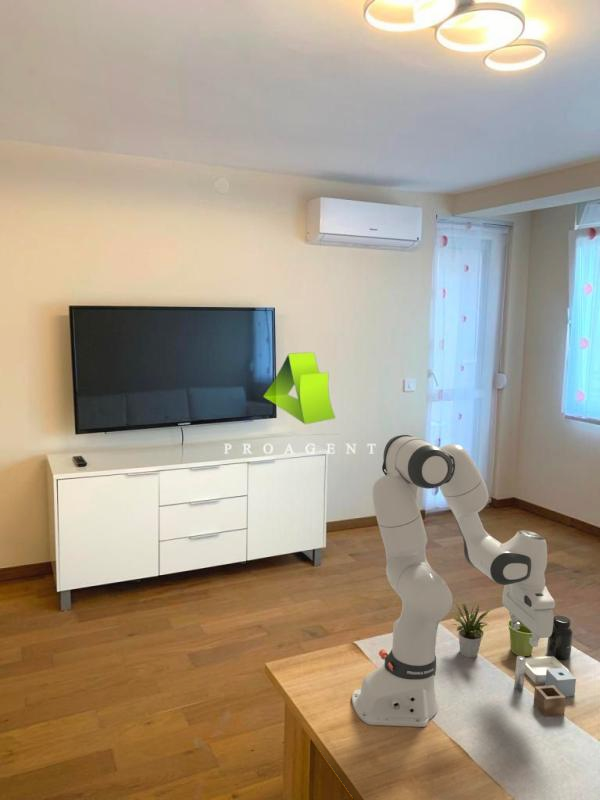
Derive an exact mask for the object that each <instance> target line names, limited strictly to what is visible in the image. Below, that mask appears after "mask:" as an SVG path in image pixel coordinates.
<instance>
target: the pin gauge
mask: <svg viewBox="0 0 600 800" xmlns="http://www.w3.org/2000/svg"><path fill="white" fill-rule="evenodd" d="M526 658H527V657H526V656H524V657H523V656H518V655H516V660H515V661H516V662H515V673H514V674H515V675H514V686H513V688H514V690H516V691H518V692H522V691H524V683H525V674H526V673H525V662H526Z"/></svg>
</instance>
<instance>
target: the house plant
mask: <svg viewBox="0 0 600 800" xmlns="http://www.w3.org/2000/svg"><path fill="white" fill-rule="evenodd" d="M460 603H461V605H462V607H463V611H464V613H465V617H466V618H465V617H464V614H463V612H462V610H461V609H460V607H459V605H458V604H457V603H456V602H455V601H453V604H454V605H455V607H456V608H457V610H458V611H457V610H455V611H450V612H449V613H453V614H455V613H456V616H454V617H453V620H455V621H456V622H459V624H461V625H458V626H457V624H455V623H453V625H455V626H457V627H456V632H457V633H458V643H459V653H460V652H461V653H460V654H461V655H462V654H463V655H462V656H464V655H465V656H464V657H466V656H468V657H467V658H476V657H478V654H479V650H480V645H481V642H482V639H483V636H484V635H485V633H484V631H483V630H482V629H483V628H484V627H487V626H488V625H489V623H487V622H484V621H483V622H482V621H481V620H482V619H488V616H487V615H488V613H490V612H492V611H493V610H494V608H491V609H488V610H485V611H484V612H483V613H482V614H481V615H480V616H478V614H479V611H480V604H479V603H478V605H477V606H476V609H475V611H474V612H473V610H474V607H475V605H476V604H477V602H475V603H474V604H473V606H472V609H471V612H470V614H469V611H468V608H467V605H466V604H465V602H464V601H463V600H461V601H460ZM477 616H478V618H477ZM485 616H486V617H485ZM462 619H463V620H462ZM476 619H477V620H476ZM475 656H476V657H475Z"/></svg>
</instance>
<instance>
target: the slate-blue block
mask: <svg viewBox="0 0 600 800" xmlns="http://www.w3.org/2000/svg"><path fill="white" fill-rule="evenodd" d="M576 684H577V678H576V677H575V676H574V675H572V673H571V674H570V673H569V672H568V671H567V670H566V669H565V668H555V669H547V670H546V681H545V683H544V686H550V685H554V686H555V687H556V688H557V689H558V690H559V691H560V692H561V693H562V694H563V695H564V696H565V697H575V692H576Z"/></svg>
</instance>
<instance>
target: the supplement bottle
mask: <svg viewBox="0 0 600 800" xmlns="http://www.w3.org/2000/svg"><path fill="white" fill-rule="evenodd" d="M553 616H554V618H553V630H552V635H551V636H550V637H548V638H547V643H546V645H547V646H546V654H547V656H554V657H555V658H556V659H557V660H558V661H559V662H567V661H569V660H570V659H571V654H572V647H573V646H572V645H573V636H574V634H573V629H572V628H571V619H570V618H568V617H567V616H563V615H553Z"/></svg>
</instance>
